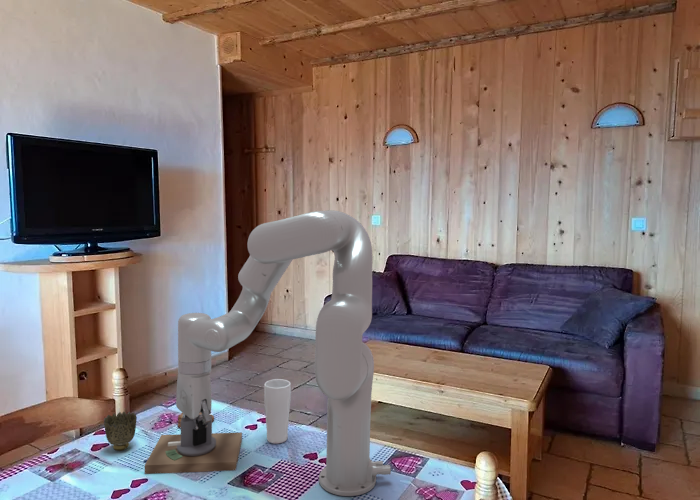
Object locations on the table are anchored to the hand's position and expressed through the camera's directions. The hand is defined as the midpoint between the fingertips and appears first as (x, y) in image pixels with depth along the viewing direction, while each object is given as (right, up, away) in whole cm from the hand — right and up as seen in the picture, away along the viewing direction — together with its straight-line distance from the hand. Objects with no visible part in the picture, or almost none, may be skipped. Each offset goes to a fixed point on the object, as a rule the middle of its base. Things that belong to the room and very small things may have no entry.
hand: (194, 439), depth 122 cm
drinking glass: (+18, -4, +10) cm, 21 cm away
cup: (-19, -4, +3) cm, 20 cm away
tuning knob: (-1, -2, 0) cm, 2 cm away
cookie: (-6, -3, +19) cm, 20 cm away
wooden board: (0, -4, 0) cm, 4 cm away
